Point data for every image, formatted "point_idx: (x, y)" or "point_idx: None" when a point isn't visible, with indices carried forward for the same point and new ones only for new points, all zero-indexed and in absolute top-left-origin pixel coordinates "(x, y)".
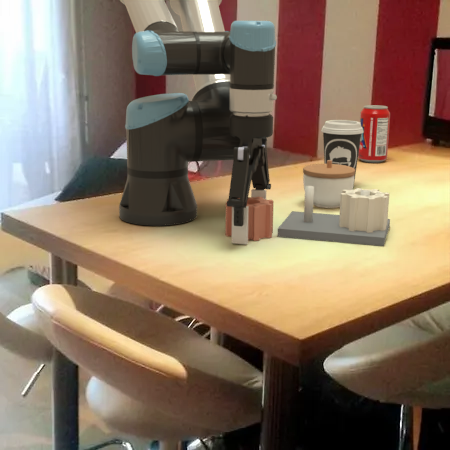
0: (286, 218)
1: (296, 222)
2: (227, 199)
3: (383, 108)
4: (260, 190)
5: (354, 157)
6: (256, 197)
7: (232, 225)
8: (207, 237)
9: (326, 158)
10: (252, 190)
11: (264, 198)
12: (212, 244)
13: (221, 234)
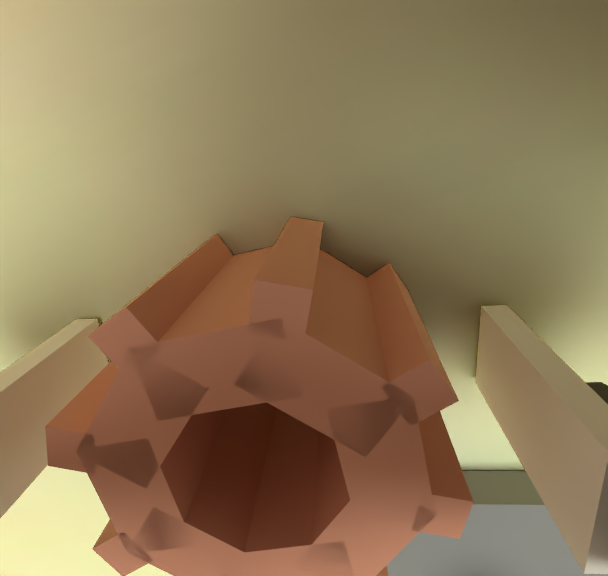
0: (515, 506)
1: (442, 557)
2: (255, 281)
3: None
4: (600, 533)
5: None
6: (428, 499)
7: (10, 370)
8: (126, 150)
9: None
10: (603, 462)
11: (546, 504)
12: (26, 227)
13: (220, 207)
